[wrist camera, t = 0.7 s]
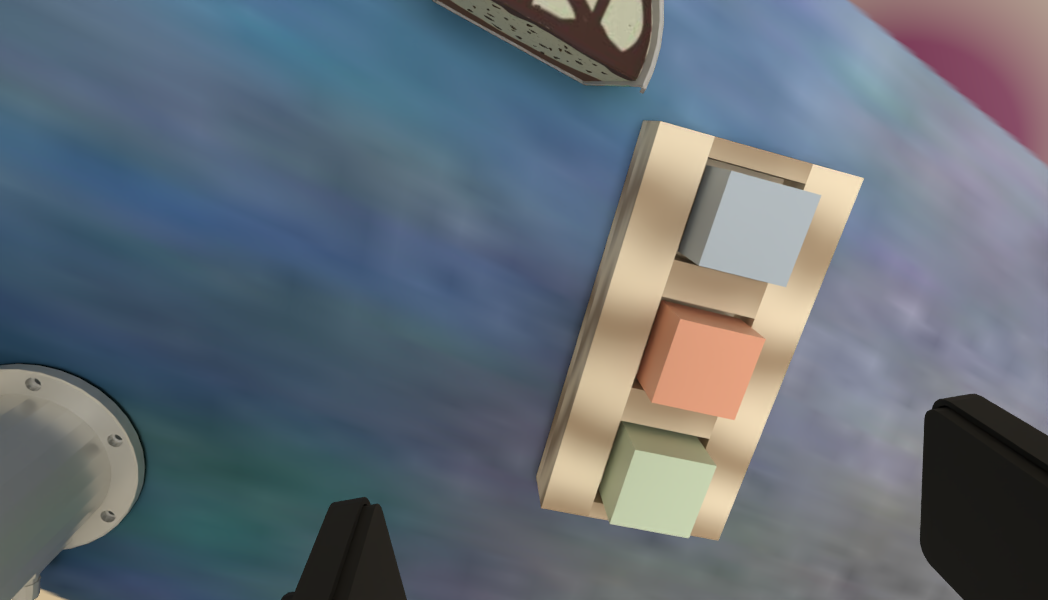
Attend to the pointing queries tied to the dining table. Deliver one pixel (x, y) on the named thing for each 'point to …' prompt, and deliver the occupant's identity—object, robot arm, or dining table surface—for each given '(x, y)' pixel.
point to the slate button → (747, 225)
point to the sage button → (655, 479)
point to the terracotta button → (699, 360)
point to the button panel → (665, 274)
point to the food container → (577, 34)
